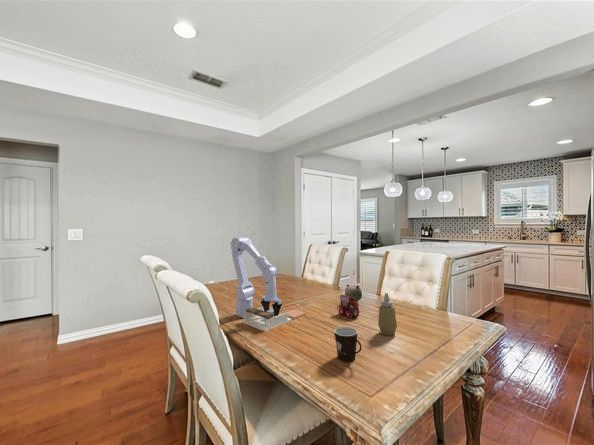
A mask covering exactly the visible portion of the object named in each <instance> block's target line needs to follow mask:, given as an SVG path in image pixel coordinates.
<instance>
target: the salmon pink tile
mask: <svg viewBox="0 0 594 445" xmlns="http://www.w3.org/2000/svg"><path fill="white" fill-rule="evenodd" d="M286 312H287V317H288V318H291V319H292V320H295V319H299V318H301V317H303V316H306V315H307V313H306V312H304V311H301V310H298V309H292V310H289V311H286Z"/></svg>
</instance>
